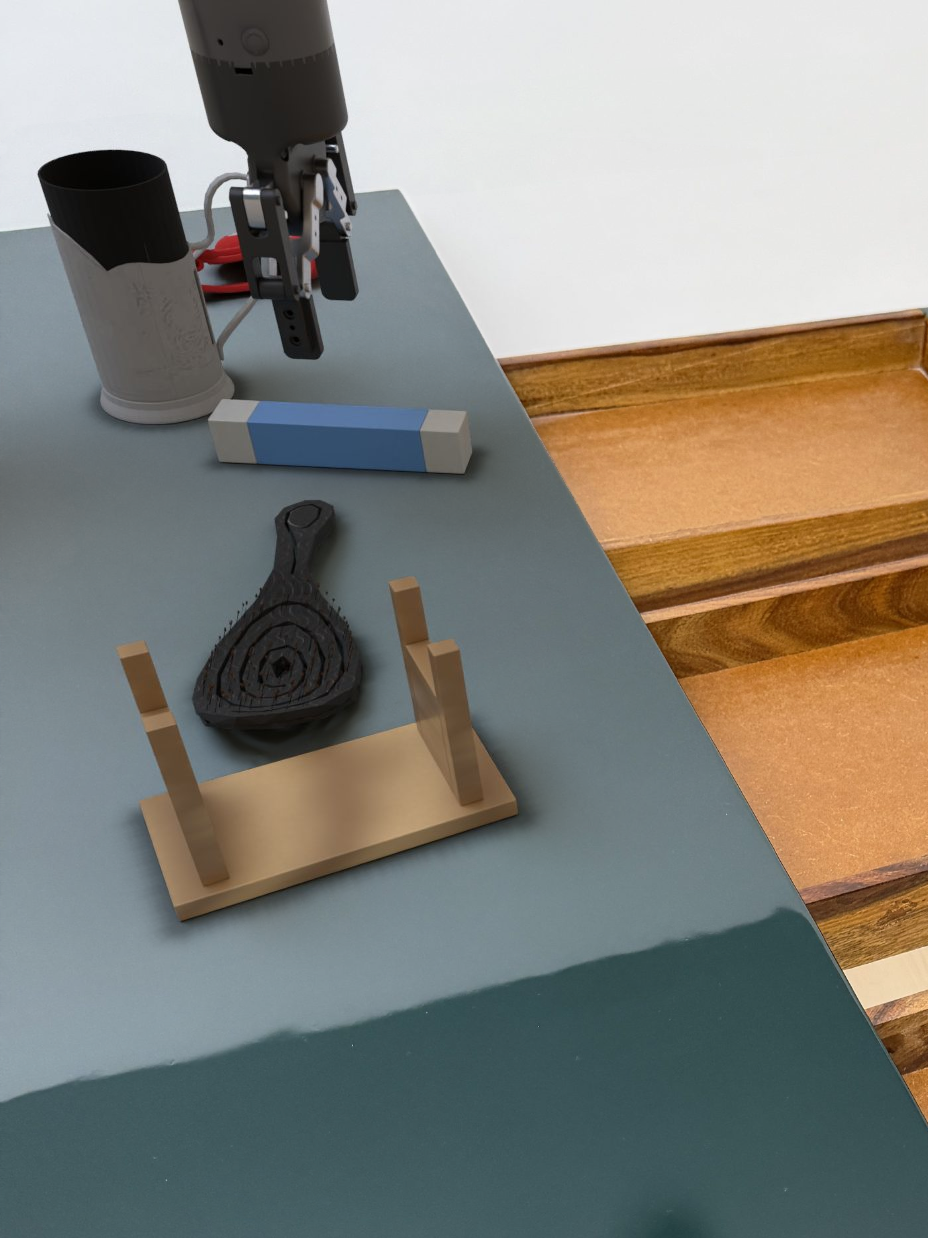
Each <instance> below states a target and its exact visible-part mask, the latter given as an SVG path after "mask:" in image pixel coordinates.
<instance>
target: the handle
mask: <svg viewBox="0 0 928 1238" xmlns="http://www.w3.org/2000/svg"><path fill="white" fill-rule="evenodd" d="M207 423H208V426H209V429H210V435H211V437H212V441H213V445H214V449H215V452H216V455H217V459H218V462H220V463H235V464H238V463H239V464H256V465H257V464H258V465H276V466H293V467H294V466H295V467H296V466H297V467H315V468H337V469H358V470H377V471H379V470H380V471H398V472H421V473H426V472H427V473H439V474H440V473H441V474H459V475H461V474H465V472H466V470H467V467H468V465H469V462H470V460H471V457H472V455H473V446H472V439H471V431H470V424H469V417H468V411H466V410H451V409H450V410H448V409H431V408H430V409H428V408H412V407H411V408H409V407H392V406H391V407H390V406H389V407H387V406H369V405H351V404H332V403H331V404H330V403H329V404H328V403H313V402H311V403H309V402H308V403H307V402H291V401H290V402H289V401H271V400H270V401H268V400H250V399H249V400H248V399H232V398H231V399H222V400H221V401H220V403H219V404H218V406H217V407H216V409H215V410H214V412H212V413H210V416H209V417H208V419H207Z"/></svg>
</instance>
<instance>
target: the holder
mask: <svg viewBox="0 0 928 1238" xmlns="http://www.w3.org/2000/svg"><path fill="white" fill-rule="evenodd" d="M388 587H389V593H390V597H391V602H392V608H393V612H394V618H395V623H396V628H397V634H398V638H399V643H400V644H399V645H400V648H401V652H402V653H401V654H402V659H403V663H404V668H405V673H406V678H407V684H408V689H409V694H410V699H411V704H412V709H413V710H412V711H413V715H414V719H415V722H412V723H409V724H406V725H405V724H404V725H402V726H397V727H394V728H391V729H388V730H383V731H379V732H376V733H373V734H370V735H366V736H363V737H359V738H356V739H351V740H348V741H345V742H341V743H338V744H333V745H331V746H327V747H324V748H319V749H316V750H313V751H310V752H306V753H303V754H298V755H295V756H292V757H288V758H284V759H281V760H277V761H273V762H269V763H266V764H263V765H260V766H256V767H252V768H248V769H246V770H242V771H238V772H234V773H231V774H227V775H224V776H221V777H217V778H213V779H210V780H207V781H202V782H199V783H198V781H197V779H196V776H195V773H194V770H193V767H192V764H191V761H190V758H189V756H188V752H187V749H186V747H185V744H184V741H183V738H182V735H181V733H180V729H179V727H178V724H177V721H176V718H175V716H174V713H173V711H172V710H170V707H169V705H168V702H167V699H166V696H165V693H164V690H163V687H162V684H161V682H160V678H159V677H158V674H157V670H156V668H155V664H154V661H153V659H152V656H151V653H150V650H149V648H148V644H147V642H146V641H145V640H144V639H142V640H138V641H134V642H130V643H125V644H122V645H118V646H116V647H115V649H116V650H115V651H116V652H117V656H118V659H119V661H120V663H121V666H122V670H123V671H124V674H125V678H126V680H127V683H128V686H129V688H130V691H131V693H132V696H133V699H134V702H135V704H136V707H137V710H138V712H139V715H140V718H141V723H142V725H143V728H144V732H145V734H146V737H147V740H148V742H149V745H150V747H151V750H152V753H153V756H154V758H155V761H156V763H157V767H158V769H159V772H160V775H161V777H162V780H163V783H164V786H165V788H166V791H167V792H164V793H161V794H157V795H152V796H150V797H149V796H148V797H147V798H142V799H140V800H138V805H139V807H140V810H141V813H142V816H143V819H144V823H145V826H146V829H147V831H148V835H149V837H150V840H151V843H152V846H153V849H154V852H155V855H156V858H157V862H158V864H159V868H160V870H161V873H162V876H163V879H164V882H165V885H166V888H167V892H168V894H169V897H170V900H171V903H172V906H173V909H174V911H175V914H176V916H177V919H178V921H180V922H183V921H186V920H189V919H191V918H195V917H199V916H202V915H204V914H208V913H211V912H214V911H217V910H220V909H224V908H227V907H230V906H233V905H236V904H239V903H243V902H245V901H248V900H252V899H255V898H258V897H261V896H264V895H268V894H271V893H274V892H277V891H280V890H283V889H287V888H290V887H293V886H296V885H299V884H303V883H305V882H309V881H312V880H314V879H318V878H322V877H324V876H328V875H331V874H333V873H337V872H340V871H343V870H347V869H350V868H353V867H356V866H359V865H363V864H366V863H369V862H371V861H375V860H378V859H382V858H384V857H387V856H391V855H394V854H397V853H400V852H403V851H406V850H409V849H413V848H416V847H418V846H422V845H425V844H429V843H432V842H434V841H435V842H436V841H438V840H441V839H444V838H447V837H450V836H454V835H457V834H460V833H463V832H467V831H469V830H473V829H475V828H479V827H482V826H486V825H488V824H491V823H494V822H498V821H500V820H504V819H507V818H510V817H513V816H516V815H518V814H519V807H518V801H517V799H516V796H515V795H514V793H513V792H512V790H511V789H510V787H509V785H508V784H507V782H506V780H505V778H504V777H503V776H502V774H501V772H500V770H499V769H498V767H497V765H496V764H495V762H494V760H493V759H492V757H491V755H490V754H489V753H488V750H487V749H486V747H485V745H484V743H483V742H482V740H481V739H480V737H479V735H478V734H477V732H476V731H475V729H474V728H473V724H472V718H471V712H470V711H471V710H470V705H469V699H468V693H467V686H466V680H465V675H464V668H463V662H462V656H461V649H460V648H459V647H458V645H457V643H456V642H455V640H454V639H453V638H451V637H450V638H447V639H444V640H440V641H439V640H438V641H435V642H432V641H431V640H430V639H429V638H430V636H429V632H428V626H427V620H426V615H425V609H424V604H423V598H422V594H421V593H422V592H421V586H420V584H419V583H418V581H417V580H416V578H415V577H414V576H413V575H410V576H406V577H401V578H397V579H392V580H389V581H388Z"/></svg>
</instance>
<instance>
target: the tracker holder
mask: <svg viewBox="0 0 928 1238" xmlns="http://www.w3.org/2000/svg"><path fill="white" fill-rule="evenodd" d="M289 237H290V239H297V238H299V237H300V236H289ZM209 247H210V246H208V247H206V248H204V249H201V250H195V251H192V253H193V256H194V260H195V264H196V268H197V272H201V271H203V270H204V268H205V264H208V265H209V266H217V265H225V264H231V263H238V262H241V261H242V262H243V258H242V254H241V249H240V245H239V240H238V236H237V232H233V233H231V234H229V235H225V236H223V237H221V238H220V239H219V240H218V241H217V242H216V243H215V245H214V248H212V249H208V248H209ZM316 278H318V274H317V269H316V265H315V260H314V259H313V260H312V261H311V281H312V280H314V279H316ZM201 287H202V291H203V293H214V294H215V293H216V294H217V293H218V294H233V293H234V294H236V293H243V292H250V290H249V285H248V281H244V282H236V283H235V282H234V283H226V284H220V285H219V284H218V285H217V284H215V285H212V284H201Z"/></svg>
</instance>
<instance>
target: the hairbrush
mask: <svg viewBox="0 0 928 1238" xmlns="http://www.w3.org/2000/svg"><path fill="white" fill-rule="evenodd" d="M274 527H275V533H276V543H275V552H274V560H273V566H272V567H273V568H272V570H271V572H270V574H269V575H268V577H267V579H266V581H265V582H264V584H263V586H262V587H261V586H260V587H259V594H258V593H255V596H254V597H255V600H254V601H253V602H252V604H250V605H249V607H248V608H244V607H245V606H247V605H248V604H249V601H248V600H245V603H244V602H242V603H241V604H242V607H241V611H244V613H241V616H240V617H239V615H240V610H239V609H237V612H236V613H237V616H236V622H235V623H234V624H233V622H234V621H233V620H232V619H230V620H229V626H230V627H228V628H229V629H228V631H227V627H226V626H225V627H224V628H223V637H222V636H221V635H219V636H218V643H215V644H214V649H212V650H211V652H210V655H209V657H208V659H207V661H206V663H205V664H204V666H203V667H202V669H201V671H200V672H199V675H198V676H197V678H196V681H195V686H194V688H193V689H194V690H193V694H192V696H191V697H192V698H191V700H192V701H191V702H192V704H193V708H194V712H195V714H196V715H197V716H199V718H200V720H201V722H202V723H203V725H204V727H209V728H216V729H226V730H231V731H233V730H234V731H239V730H241V731H242V730H265V729H266V730H267V729H281V728H285V727H289V726H295V725H299V724H304V723H310V722H314V721H320V720H324V719H327V718H329V717H331V716H332V715H334V714H335V713H337V712H339V711H341V710H342V709H344V708H345V707H348V706H349V705H351V704H352V703H354V702H355V701H357V699H358V695H359V693H358V692H359V688H360V684H361V680H362V673H363V667H364V665H363V662H362V659H361V653H360V650H359V648H358V646H357V644H356V641H355V639H354V636H353V635H352V632H353V631H352V630H350V624H349V623H348V622H349V621H348V620H346V619H347V617H346V616H345V615H343V616H342V617H341V615H340V612H341V609H342V608H341V606H340V605H339V606H337V607H338V608H337V611H336V610H335V608H334V607H333V605H334V604H332V605H331V604H330V603H329V601H328V600H327V598H325V597H324V596H323V594H321V592H320V590H319V588H320V583H317V584H316V581H315V579H314V577H313V575H312V572H313V568H314V565H315V561H316V557H317V554H318V551H319V547H320V546H321V545H322V544H323V543H324V541H325V540H326V539H327V538H328V536H329V535H330V534H331V533H332V531H334V529H335V528H336V514H335V508H334V505H333V504H331V503H328V502H326V501H324V500H321V499H303V500H301V501H299V502H295V503H293V504H290V505H287V506H285V507H283V508H282V509H281V510H280V511H279V513H278V514H277V515H276V516H275V517H274ZM294 544H295V545H296V551H295V547H294ZM328 594H329V590H325V595H326V596H328ZM334 602H335V597H333V598H332V603H334ZM244 609H245V610H244ZM232 625H233V626H232ZM336 640H337V641H338V644H339V646H340V648H341V651H342V655H343V658H342V656H341V652H340V649H339V646H338V644H337V641H336ZM321 655H322V657H324V659H325V662H324V665H323V661H322V659H321ZM304 667H305V668H306V670H305V668H304ZM283 670H285V671H284V673H285V676H284V677H282V673H283ZM279 675H280V676H279ZM278 676H279V677H278ZM244 690H245V691H244Z"/></svg>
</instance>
